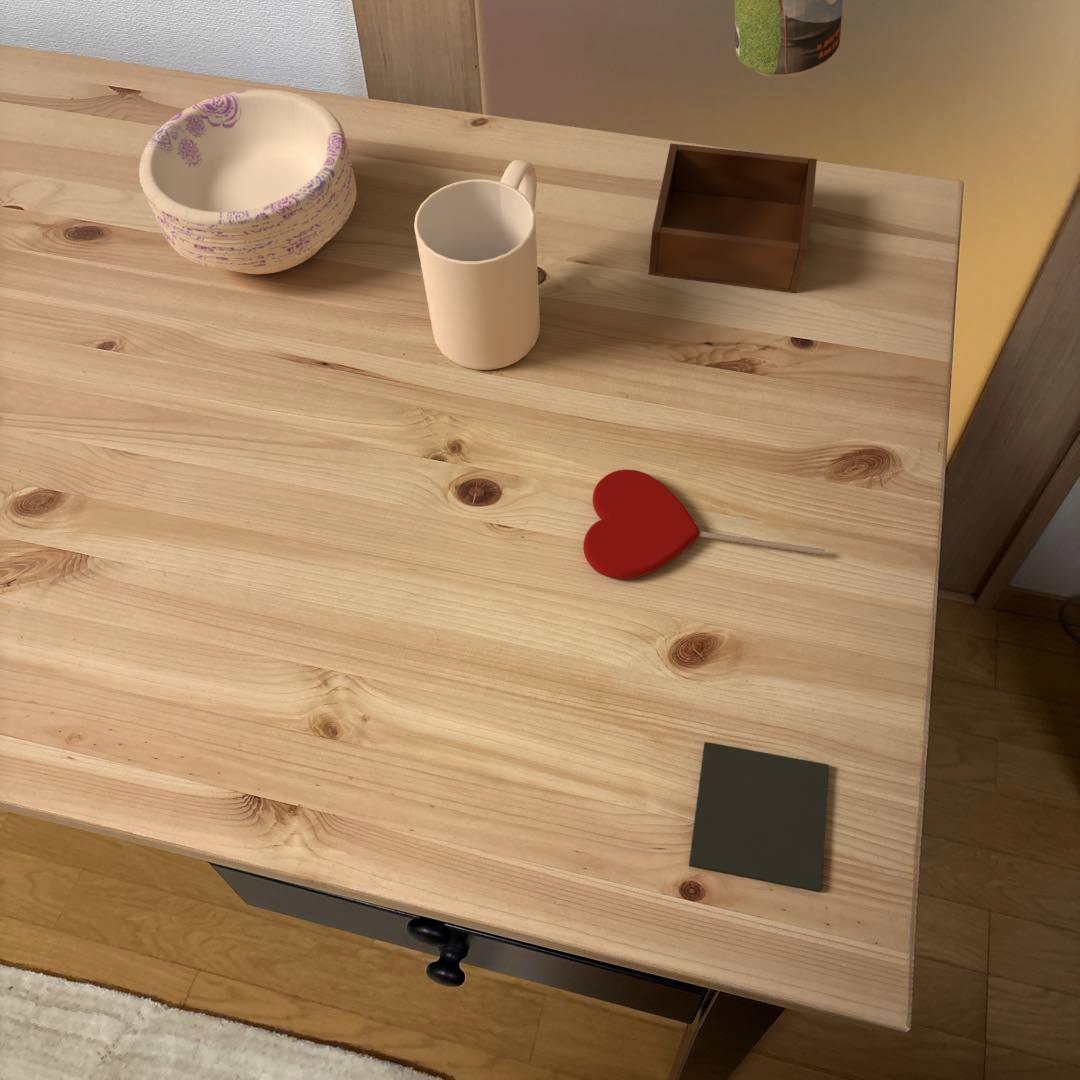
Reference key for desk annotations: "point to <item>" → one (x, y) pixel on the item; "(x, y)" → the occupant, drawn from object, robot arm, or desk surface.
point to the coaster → (760, 817)
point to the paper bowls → (249, 180)
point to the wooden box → (733, 217)
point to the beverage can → (786, 34)
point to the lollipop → (645, 527)
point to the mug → (482, 268)
